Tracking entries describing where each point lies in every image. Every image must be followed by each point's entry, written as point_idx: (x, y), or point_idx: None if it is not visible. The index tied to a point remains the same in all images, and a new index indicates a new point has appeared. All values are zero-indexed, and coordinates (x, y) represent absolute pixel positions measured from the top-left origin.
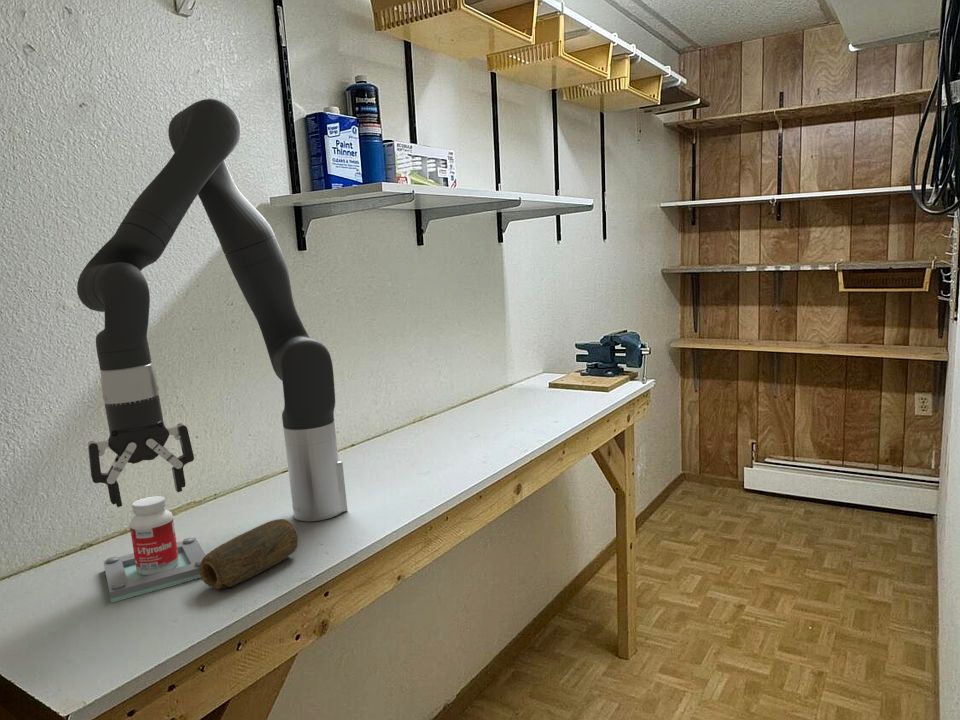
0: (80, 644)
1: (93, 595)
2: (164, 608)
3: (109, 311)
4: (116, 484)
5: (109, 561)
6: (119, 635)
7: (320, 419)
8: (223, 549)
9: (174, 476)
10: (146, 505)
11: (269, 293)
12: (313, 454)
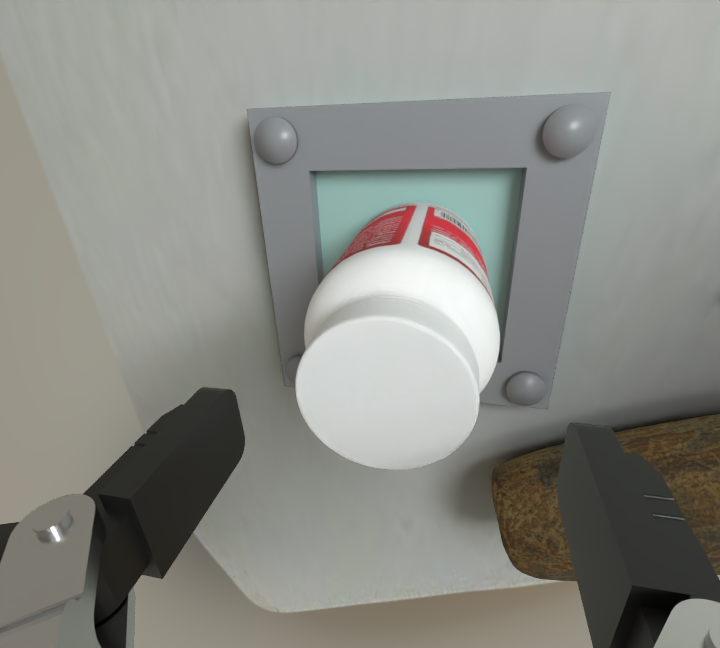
0: (254, 489)
1: (250, 295)
2: (396, 471)
3: None
4: (154, 569)
5: (267, 159)
6: (313, 505)
7: None
8: (565, 576)
9: (588, 579)
10: (365, 463)
11: None
12: None
